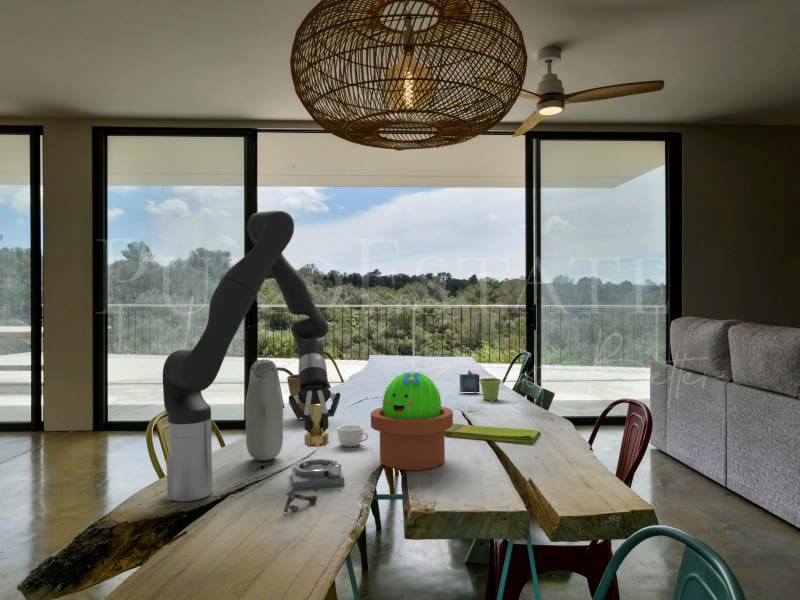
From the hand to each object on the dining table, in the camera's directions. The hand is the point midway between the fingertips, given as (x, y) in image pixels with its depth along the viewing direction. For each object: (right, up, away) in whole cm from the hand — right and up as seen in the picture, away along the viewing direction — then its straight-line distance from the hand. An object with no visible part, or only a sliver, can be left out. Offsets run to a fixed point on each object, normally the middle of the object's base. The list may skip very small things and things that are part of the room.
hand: (316, 430), depth 134 cm
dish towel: (+47, -12, +43) cm, 65 cm away
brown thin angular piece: (0, -13, -18) cm, 22 cm away
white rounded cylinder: (-17, -13, +18) cm, 28 cm away
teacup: (+6, -12, +31) cm, 34 cm away
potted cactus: (+24, -12, +14) cm, 30 cm away
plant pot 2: (+60, -11, +103) cm, 119 cm away
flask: (+53, -12, +119) cm, 131 cm away
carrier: (0, -12, 0) cm, 12 cm away
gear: (0, -4, +2) cm, 4 cm away
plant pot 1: (-14, -13, +70) cm, 73 cm away
